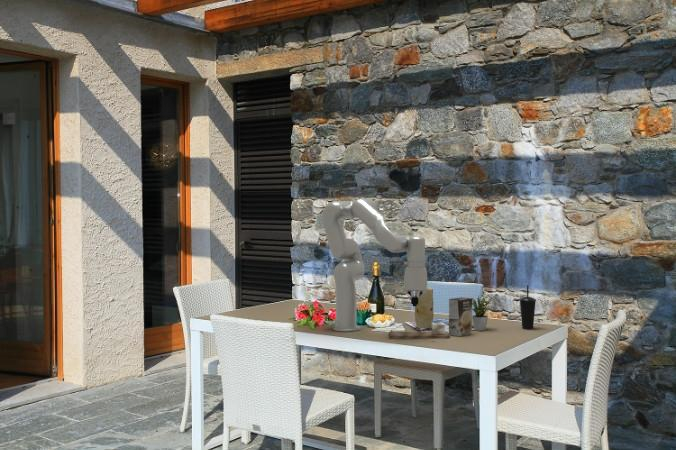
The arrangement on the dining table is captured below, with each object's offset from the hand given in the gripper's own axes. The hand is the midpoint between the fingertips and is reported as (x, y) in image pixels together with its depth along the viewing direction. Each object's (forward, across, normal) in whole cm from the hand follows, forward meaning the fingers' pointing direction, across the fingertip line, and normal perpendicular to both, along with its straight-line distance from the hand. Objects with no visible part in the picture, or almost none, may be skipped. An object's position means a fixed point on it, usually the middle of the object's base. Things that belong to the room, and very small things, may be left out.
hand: (414, 305), depth 324 cm
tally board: (+13, +2, -1) cm, 14 cm away
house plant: (+13, +32, +13) cm, 37 cm away
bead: (+12, +11, -1) cm, 16 cm away
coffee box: (+13, +21, +3) cm, 25 cm away
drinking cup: (+12, +54, +16) cm, 58 cm away
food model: (+14, +6, +17) cm, 23 cm away
